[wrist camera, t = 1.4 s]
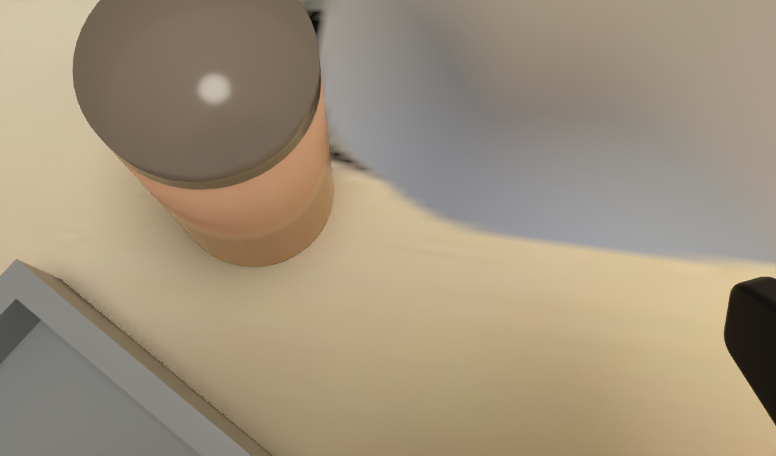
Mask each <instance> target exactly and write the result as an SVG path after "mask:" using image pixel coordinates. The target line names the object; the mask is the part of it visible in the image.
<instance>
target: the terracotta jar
mask: <svg viewBox="0 0 776 456" xmlns="http://www.w3.org/2000/svg"><path fill="white" fill-rule="evenodd" d="M73 81H74V88H75V92H76V96H77V100H78V103H79V105H80V108H81V110H82V112H83V114H84V116H85V118H86V119H87V121H88V123H89V124H90V126H91V127H92V129H93V130H94V131H95V132H96V133H97V135H98V136H99V137H100V138H101V139H102V140H103V142H104V143H105V144H106V145H107V146H108V147H109V148H110V149H111V150H112V151H113V152H114V153H115V154H116V156H117V157H118V158H119V159H120V160H121V161H122V162H123V163H124V164H125V165H126V166H127V167H128V168H129V170H130V171H131V172H132V173H133V174H134V175H135V176H136V177H137V178H138V179H139V180H140V181H141V183H142V184H143V185H144V186H145V187H146V188H147V189H148V190H149V191H150V192H151V193H152V194H153V195H154V197H155V198H156V199H157V200H158V201H159V202H160V203H161V204H162V205H163V206H164V207H165V208H166V210H167V211H168V212H169V213H170V214H171V215H172V216H173V217H174V218H175V219H176V220H177V221H178V222H179V224H180V225H181V226H182V227H183V228H184V229H185V230H186V231H187V232H188V233H189V234H190V235H191V237H192V238H193V239H194V240H195V241H196V242H197V243H198V244H199V245H200V246H201V247H202V248H203V249H204V250H206V251H207V252H208V253H210V254H211V255H213V256H214V257H216V258H218V259H220V260H222V261H225V262H228V263H231V264H235V265H239V266H247V267H261V266H268V265H273V264H277V263H280V262H283V261H285V260H287V259H290V258H292V257H294V256H295V255H297V254H299V253H300V252H302V251H303V250H304V249H305V248H307V247H308V246H309V245H310V244H311V243H312V242H313V241H314V240H315V239H316V238H317V236H318V235H319V234H320V232H321V231H322V229H323V228H324V226H325V224H326V222H327V220H328V217H329V215H330V212H331V208H332V204H333V194H334V191H333V177H332V168H331V159H330V150H329V141H328V132H327V123H326V114H325V105H324V96H323V87H322V77H321V68H320V59H319V50H318V44H317V39H316V34H315V31H314V28H313V25H312V22H311V20H310V18H309V16H308V14H307V12H306V10H305V9H304V7H303V6H302V4H301V3H300V2H299V0H100V1H99V2H98V3H97V5H96V6H95V7H94V9H93V10H92V12H91V13H90V14H89V16H88V18H87V20H86V22H85V23H84V25H83V27H82V29H81V32H80V35H79V37H78V40H77V43H76V48H75V52H74V58H73Z"/></svg>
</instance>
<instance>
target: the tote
mask: <svg viewBox="0 0 776 456" xmlns="http://www.w3.org/2000/svg"><path fill="white" fill-rule="evenodd" d="M0 456H272V455H271V454H270V453H268V452H267V451H266V450H265V449H264V448H262V447H261V446H260V445H259V444H258V443H256V442H255V441H254V440H253V439H252V438H250V437H249V436H248V435H247V434H246V433H244V432H243V431H242V430H241V429H240V428H238V427H237V426H236V425H235V424H234V423H232V422H231V421H230V420H229V419H228V418H226V417H225V416H224V415H223V414H222V413H220V412H219V411H218V410H217V409H216V408H214V407H213V406H212V405H211V404H210V403H208V402H207V401H206V400H205V399H204V398H202V397H201V396H200V395H199V394H198V393H196V392H195V391H194V390H193V389H192V388H190V387H189V386H188V385H187V384H186V383H184V382H183V381H182V380H181V379H180V378H178V377H177V376H176V375H175V374H174V373H172V372H171V371H170V370H169V369H168V368H166V367H165V366H164V365H163V364H162V363H160V362H159V361H158V360H157V359H156V358H154V357H153V356H152V355H151V354H150V353H148V352H147V351H146V350H145V349H144V348H142V347H141V346H140V345H139V344H138V343H136V342H135V341H134V340H133V339H132V338H130V337H129V336H128V335H127V334H126V333H124V332H123V331H122V330H121V329H120V328H118V327H117V326H116V325H115V324H114V323H112V322H111V321H110V320H109V319H108V318H106V317H105V316H104V315H103V314H102V313H100V312H99V311H98V310H97V309H96V308H94V307H93V306H92V305H91V304H90V303H88V302H87V301H86V300H85V299H84V298H82V297H81V296H80V295H79V294H78V293H76V292H75V291H74V290H73V289H72V288H70V287H69V286H68V285H67V284H66V283H64V282H63V281H62V280H61V279H59V278H57V277H54V276H52V275H50V274H48V273H46V272H44V271H41V270H39V269H37V268H35V267H33V266H31V265H28V264H26V263H24V262H22V261H20V260H17V259H16V260H15V261H14V262H13V263H12V264H11V265H10V266H9V267H8V268H7V269H6V270H5V272H4V273H3V274H2V275H1V276H0Z"/></svg>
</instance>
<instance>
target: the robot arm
mask: <svg viewBox="0 0 776 456" xmlns="http://www.w3.org/2000/svg"><path fill="white" fill-rule="evenodd" d="M724 340H725V344H726V347H727V349H728V351H729V353H730V355H731V356H732V358H733V360H734V361H735V363H736V364H737V366H738V367H739V369H740V370H741V372H742V374H743V375H744V377H745V378H746V380H747V381H748V383H749V385H750V386H751V388H752V389H753V391H754V392H755V394H756V395H757V397H758V399H759V400H760V402H761V403H762V405H763V406H764V408H765V410H766V411H767V413H768V414H769V416H770V417H771V419H772V420H773V422H774V424H775V425H776V279H775V278H771V277H759V278H755V279H752V280H748V281H745V282H741V283H738V284H736V285H735V286H734V287H733V288H732V290H731V292H730V297H729V303H728V309H727V315H726V322H725V328H724Z"/></svg>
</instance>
